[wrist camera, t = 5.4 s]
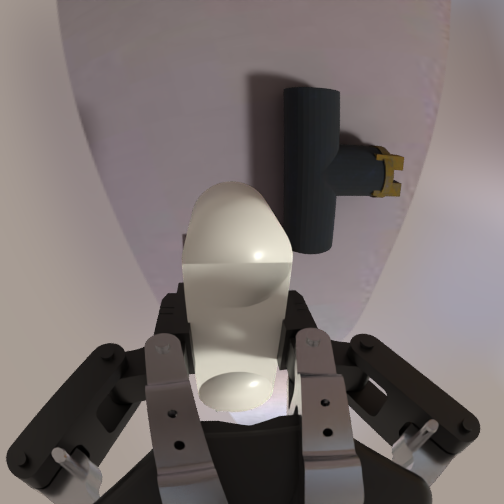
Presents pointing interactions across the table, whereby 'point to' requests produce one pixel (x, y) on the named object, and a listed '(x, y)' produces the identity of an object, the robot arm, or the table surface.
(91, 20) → the table surface
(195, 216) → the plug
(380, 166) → the pipe connector
